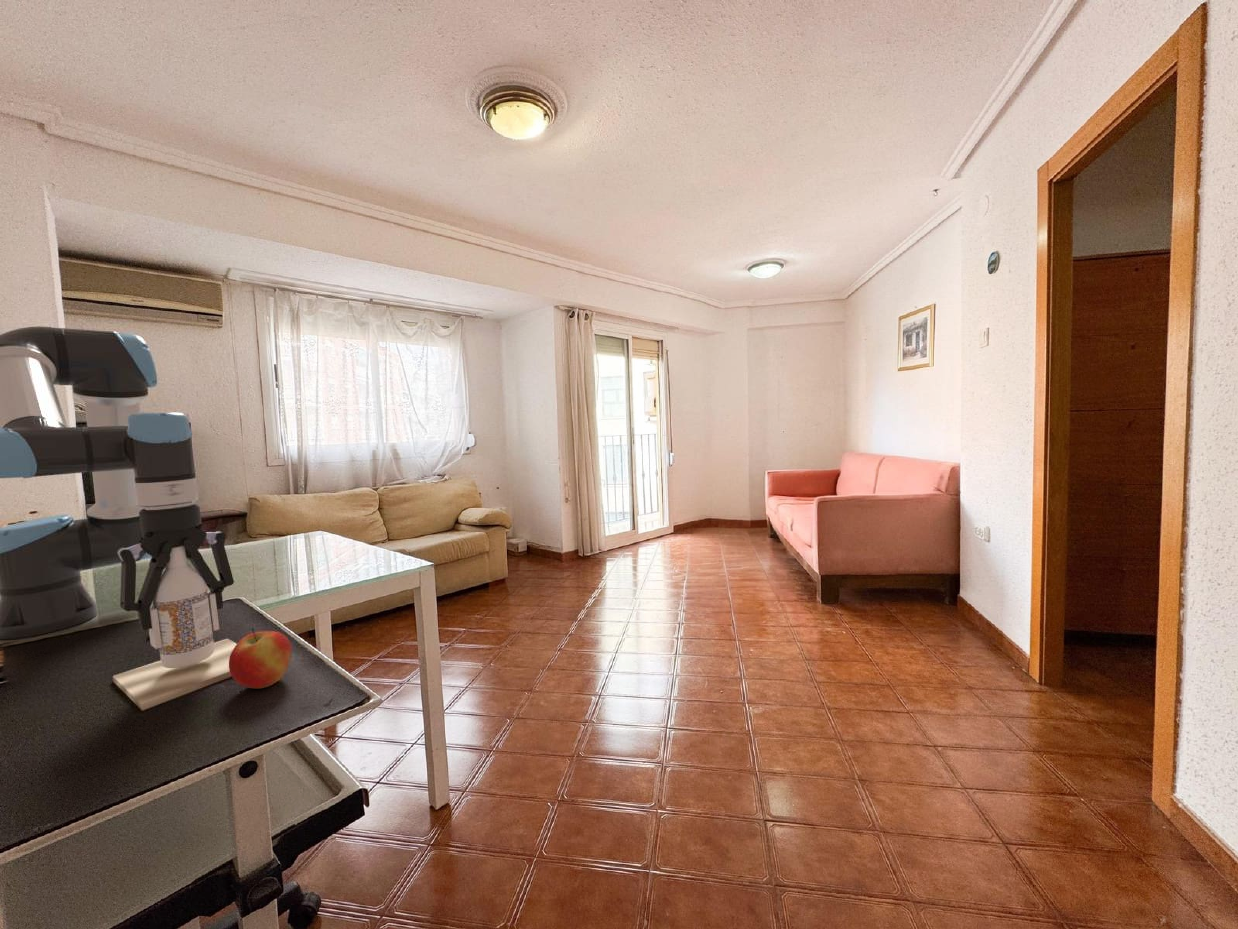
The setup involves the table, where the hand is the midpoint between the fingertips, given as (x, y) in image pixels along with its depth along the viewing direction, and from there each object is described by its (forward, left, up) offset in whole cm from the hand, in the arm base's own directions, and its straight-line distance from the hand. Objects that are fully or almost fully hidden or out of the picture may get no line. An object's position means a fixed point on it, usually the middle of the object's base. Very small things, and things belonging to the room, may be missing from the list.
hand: (186, 636), depth 85 cm
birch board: (0, 0, -6) cm, 6 cm away
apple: (+16, +5, -7) cm, 18 cm away
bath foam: (0, 0, -4) cm, 4 cm away
